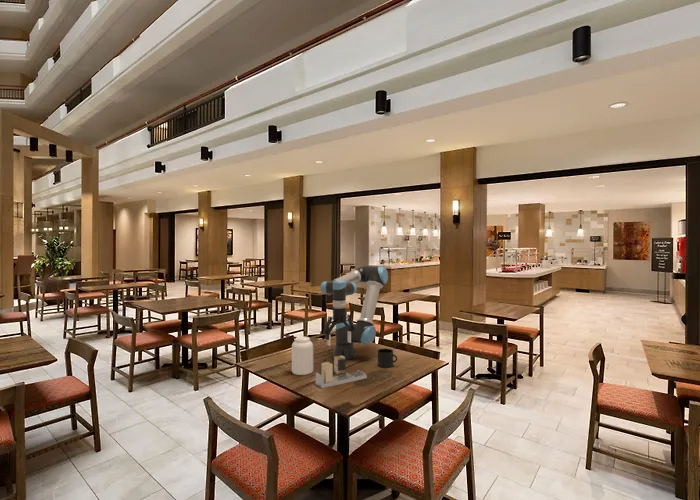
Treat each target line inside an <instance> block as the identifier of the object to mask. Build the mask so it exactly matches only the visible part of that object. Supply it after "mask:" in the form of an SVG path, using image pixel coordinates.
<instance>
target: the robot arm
mask: <svg viewBox="0 0 700 500" xmlns="http://www.w3.org/2000/svg"><path fill="white" fill-rule="evenodd" d="M388 280H389V273H388V270H387V268H386V267H384V266H377V265H376V266H374V265H371V266H370V265H364V266H359V267H357V268H354V269H351V271H350V272H348V273H346V274H344V275H341V276H339V277H337V278H335V279H332V280H330V281H323V282H321V284H320V291H321V293H322V294H326V295H332V307H333V308H332V316H328V317H327V321H326V323H325V326H324V328H323V330H322V333H323V334H325V340H326V345H327V346H329V347H330V346H331V345H332V344H331V338H332V337H331V332H332V331H333V329H334V328H335V346H334V349H333V352H332V353H333V354H332V356H333V358H334V357H335V356H341V355H342V356H344V357H345V361H347V360H352V359H355V358H356V357H357V353H356V350H355V346H354V343H356V344H362V345H370V344H371V343H373V342H374V340H375V338H376V333H377V332H376V331H377V329H376V327H375V324H374V322H373V320H374V317H375V312H376V308H377V304H378V299H379V294H380V290H381V289H383V287H384V285H385V284H387V283H388V282H389V281H388ZM358 283H366V285H367V287H366V291H365V296H364V299H363V305H362V309H361V313H360V315H359V316H360V317H359V318H358V319H357V320H356V322H355V323H354V321H353V320H352V319H351V317H352V316H351V315H350V314H347V311H346V310H347V308H346V307H347V306H346V305H347V301H346V300H347V299H346V298H347V297H348V296H353V295H354V294H355V293H357V290H358V288H357V287H358V286H357V285H356V284H358Z"/></svg>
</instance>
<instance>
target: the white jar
mask: <svg viewBox="0 0 700 500" xmlns="http://www.w3.org/2000/svg"><path fill="white" fill-rule="evenodd" d="M291 372H292V374H293V375H297V376H306V375H310V374H312V373H313V372H314V344H313V342H312V341H311V338H310V337H309V336H298V337H296V338H295V339H294V341H293V342H292V344H291Z"/></svg>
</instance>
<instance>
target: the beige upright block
mask: <svg viewBox="0 0 700 500" xmlns="http://www.w3.org/2000/svg"><path fill="white" fill-rule="evenodd" d="M333 373H334V374H337V375H341V374H346V360H345V357H344V356H342V355H341V356H335V357H333Z"/></svg>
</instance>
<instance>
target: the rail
mask: <svg viewBox="0 0 700 500" xmlns="http://www.w3.org/2000/svg"><path fill="white" fill-rule="evenodd" d="M367 378H368V374H366V372H364V371H362V370H360V369H357V371H355V372H348V371H345V373H343V374H338V375H336V376H335V375H334V363H331V362H329V361H326V362H322V363H321V374H320V373H319V372H315V385H316V386H317V387H319V388H320V389H325V388H330V387H334V386H338V385H344V384H347V383H352V382H357V381H360V380H361V381H362V380H365V379H367Z"/></svg>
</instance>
